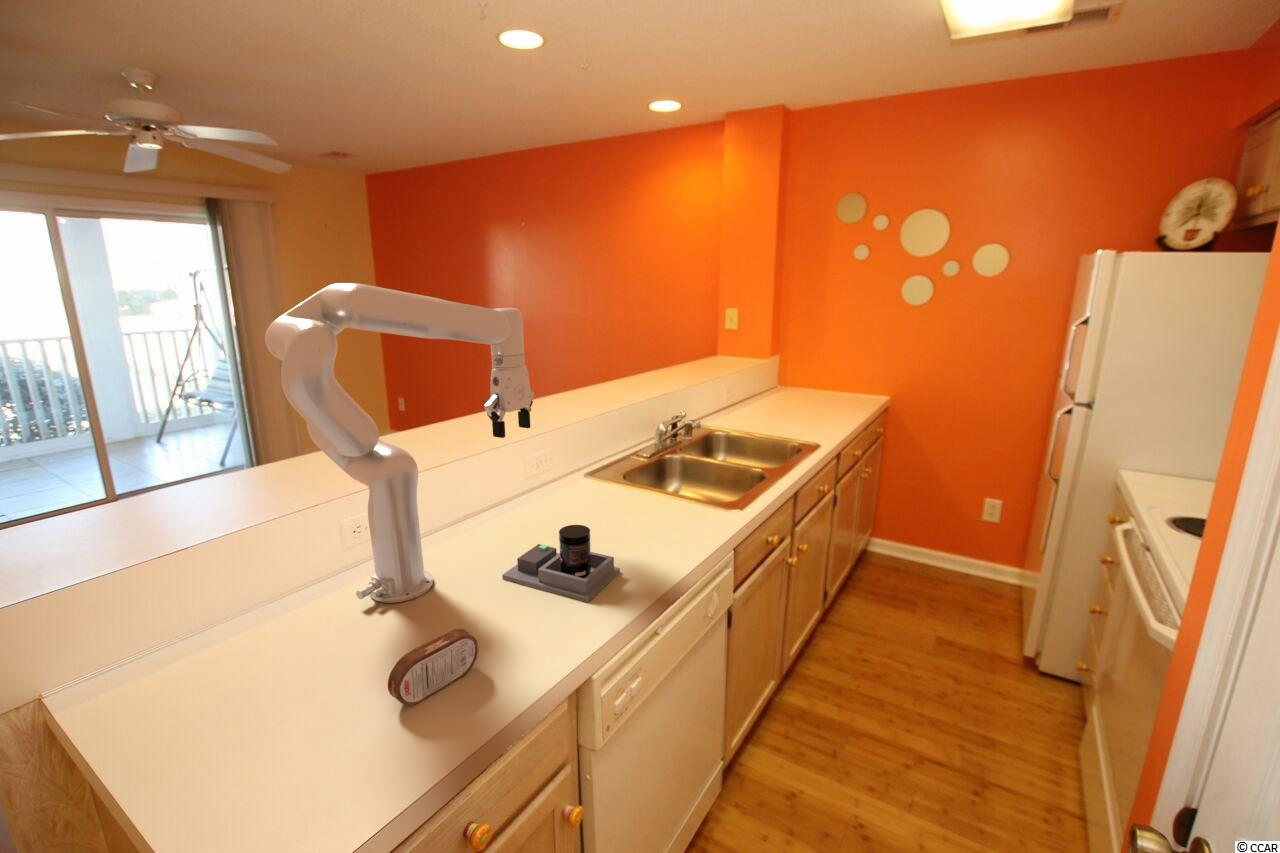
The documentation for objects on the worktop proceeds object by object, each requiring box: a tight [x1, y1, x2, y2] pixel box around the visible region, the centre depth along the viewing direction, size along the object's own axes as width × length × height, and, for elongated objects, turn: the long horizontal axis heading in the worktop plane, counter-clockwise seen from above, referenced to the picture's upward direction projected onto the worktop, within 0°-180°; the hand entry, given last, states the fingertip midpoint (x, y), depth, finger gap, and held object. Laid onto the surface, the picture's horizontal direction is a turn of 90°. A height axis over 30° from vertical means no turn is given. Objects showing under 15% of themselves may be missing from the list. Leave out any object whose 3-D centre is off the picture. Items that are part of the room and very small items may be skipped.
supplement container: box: [558, 524, 591, 578], centre depth 127 cm, size 7×7×10 cm
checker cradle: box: [501, 543, 621, 603], centre depth 129 cm, size 14×22×5 cm, turn 64°
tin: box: [387, 628, 479, 706], centre depth 94 cm, size 15×3×8 cm, turn 141°
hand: (512, 432), depth 140 cm, fingers open, 9 cm apart
